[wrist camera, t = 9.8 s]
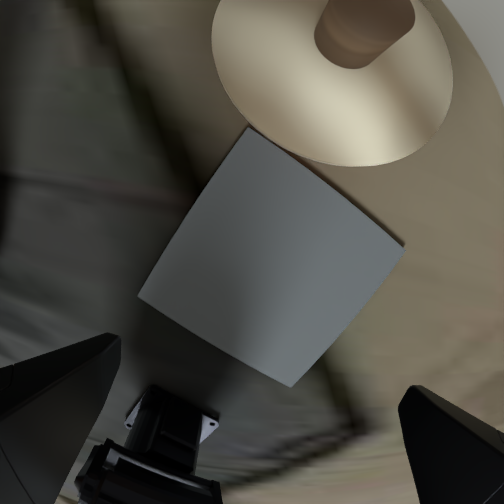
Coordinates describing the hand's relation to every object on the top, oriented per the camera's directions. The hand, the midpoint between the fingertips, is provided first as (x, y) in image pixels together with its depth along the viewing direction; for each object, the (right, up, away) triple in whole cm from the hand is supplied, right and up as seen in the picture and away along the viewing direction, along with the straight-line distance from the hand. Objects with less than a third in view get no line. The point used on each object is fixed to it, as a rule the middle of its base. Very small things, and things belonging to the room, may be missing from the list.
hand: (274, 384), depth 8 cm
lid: (+4, +13, +4) cm, 14 cm away
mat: (+1, +2, +12) cm, 12 cm away
